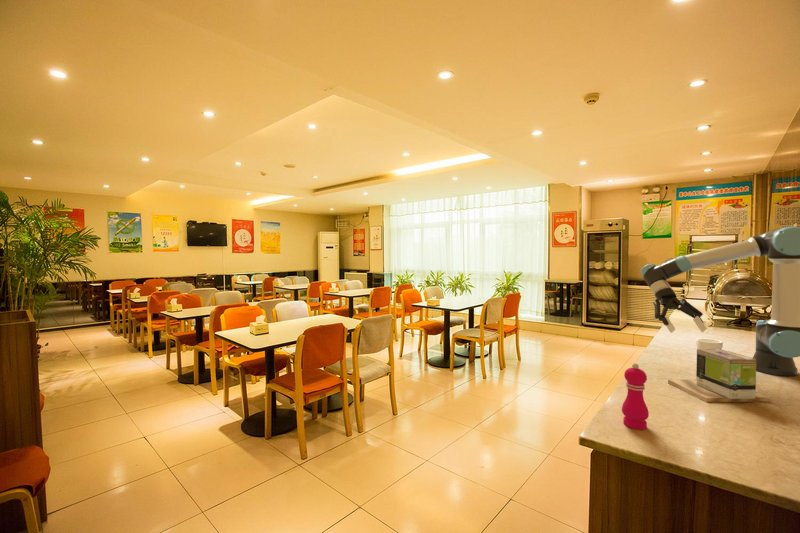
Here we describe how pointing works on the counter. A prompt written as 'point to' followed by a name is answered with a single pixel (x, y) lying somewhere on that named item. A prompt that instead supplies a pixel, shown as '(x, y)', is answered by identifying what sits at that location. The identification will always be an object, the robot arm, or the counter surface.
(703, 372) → the tea box
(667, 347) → the counter surface
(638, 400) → the pepper mill
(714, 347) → the foam cup
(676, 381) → the oak board
